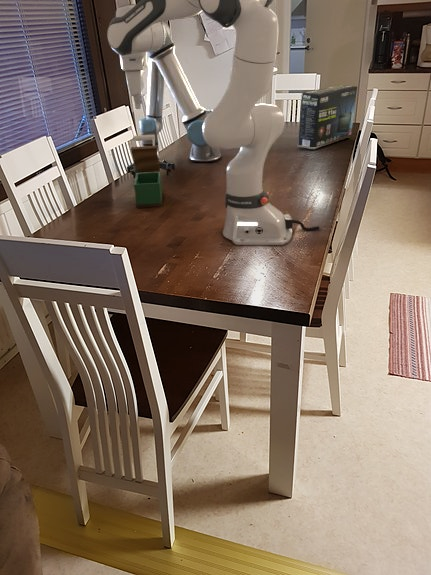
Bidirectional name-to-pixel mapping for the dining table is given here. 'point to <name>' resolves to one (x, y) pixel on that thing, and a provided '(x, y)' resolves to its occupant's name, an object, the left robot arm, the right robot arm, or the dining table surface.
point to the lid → (145, 155)
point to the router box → (326, 115)
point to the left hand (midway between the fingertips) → (150, 173)
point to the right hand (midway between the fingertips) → (139, 106)
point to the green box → (148, 189)
